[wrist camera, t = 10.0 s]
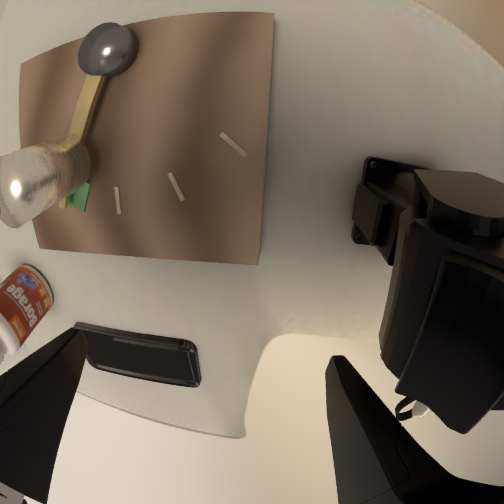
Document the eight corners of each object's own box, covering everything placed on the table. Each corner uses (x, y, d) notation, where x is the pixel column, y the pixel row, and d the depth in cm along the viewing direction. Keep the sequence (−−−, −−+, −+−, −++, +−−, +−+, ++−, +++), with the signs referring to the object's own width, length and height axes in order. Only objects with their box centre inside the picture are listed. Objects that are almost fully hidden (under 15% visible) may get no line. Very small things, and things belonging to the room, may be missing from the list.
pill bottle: (63, 301, 25) (11, 374, 15) (39, 311, 26) (-5, 374, 16) (31, 255, 22) (-33, 320, 12) (11, 271, 23) (-42, 329, 14)
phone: (201, 388, 29) (91, 367, 29) (202, 381, 30) (94, 361, 30) (193, 345, 25) (69, 324, 25) (195, 337, 26) (73, 318, 26)
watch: (401, 411, 34) (406, 429, 31) (386, 407, 33) (392, 426, 30) (439, 385, 31) (446, 403, 28) (427, 378, 30) (435, 398, 27)
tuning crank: (102, 24, 11) (34, 3, 5) (149, 32, 12) (87, 1, 6) (51, 194, 17) (-10, 233, 11) (88, 212, 18) (29, 261, 12)
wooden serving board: (273, 20, 13) (274, 12, 11) (258, 254, 21) (258, 266, 20) (32, 63, 13) (19, 64, 11) (48, 241, 21) (38, 249, 20)
